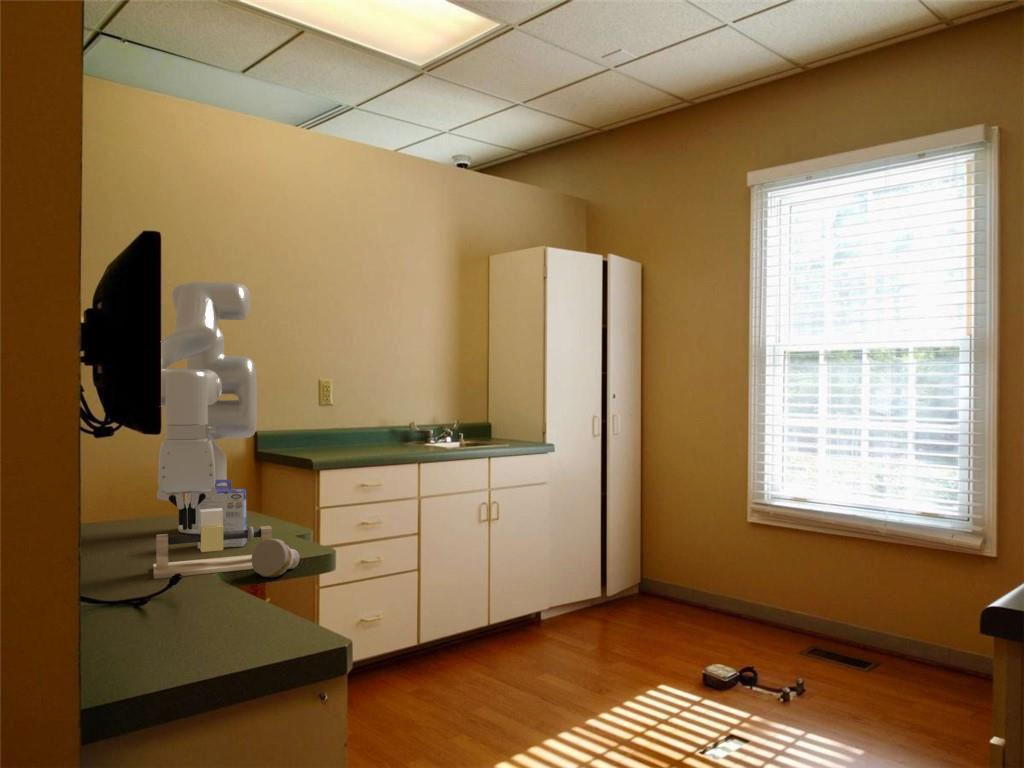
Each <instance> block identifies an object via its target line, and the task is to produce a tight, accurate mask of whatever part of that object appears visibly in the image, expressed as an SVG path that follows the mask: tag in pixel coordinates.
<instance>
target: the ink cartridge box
mask: <svg viewBox="0 0 1024 768" xmlns="http://www.w3.org/2000/svg"><path fill="white" fill-rule="evenodd" d="M222 482H224V483H227V486H217V484H218V483H222ZM215 488H216V491H217V495H216V496H213V497H210V498H206V499H204V500H203V501H202V502H201V503H200V504H199V505H198V507H197V508H198V534H200V509H215V508H222V510H223V532H228V531H240V530H247V490H246V488H237V489H235V488H232V479H227V480H215ZM200 493H203V492H200ZM200 493H199V494H200ZM246 543H247V538H242V539H231V540H223V548H237V547H240V548H241V547H244V546H245V545H246ZM196 549H197V550H200V542H197V548H196Z"/></svg>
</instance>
